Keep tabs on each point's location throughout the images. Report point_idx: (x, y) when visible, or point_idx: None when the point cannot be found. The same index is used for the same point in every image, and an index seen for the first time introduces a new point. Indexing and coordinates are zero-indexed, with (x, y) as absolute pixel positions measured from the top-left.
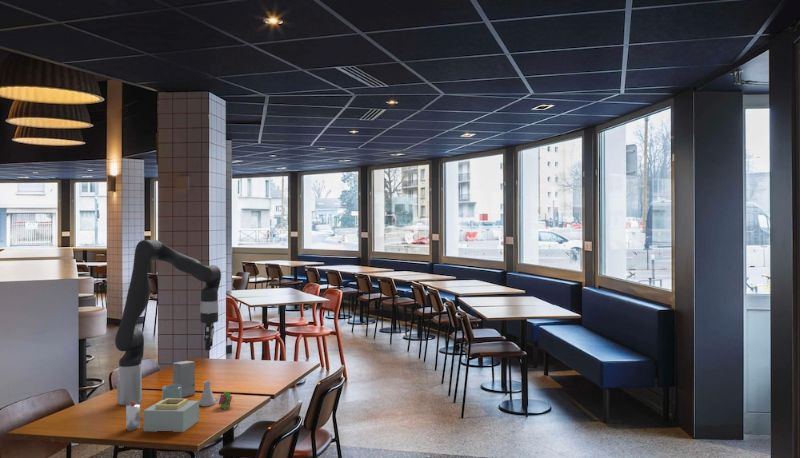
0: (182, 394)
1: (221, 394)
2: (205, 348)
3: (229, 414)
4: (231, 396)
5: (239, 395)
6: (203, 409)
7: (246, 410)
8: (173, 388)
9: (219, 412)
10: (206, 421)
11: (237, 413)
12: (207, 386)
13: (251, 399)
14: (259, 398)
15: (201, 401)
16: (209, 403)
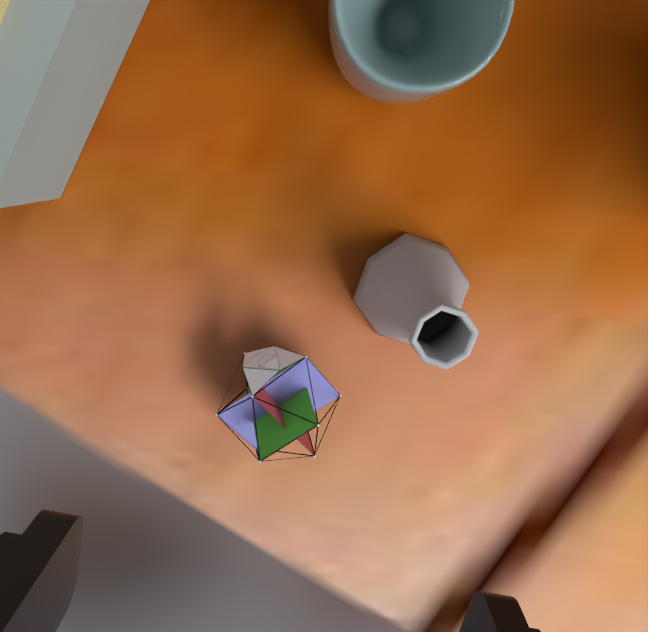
0: None
1: (250, 397)
2: (28, 532)
3: (119, 385)
4: (310, 451)
5: (508, 497)
6: (298, 253)
7: (163, 482)
8: (478, 23)
9: (186, 337)
10: (22, 239)
11: (122, 428)
12: (412, 326)
13: (381, 542)
14: (379, 583)
15: (396, 255)
16: (358, 302)
